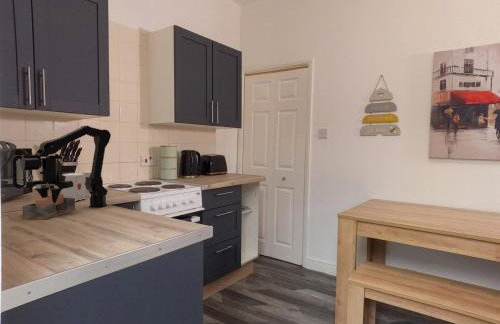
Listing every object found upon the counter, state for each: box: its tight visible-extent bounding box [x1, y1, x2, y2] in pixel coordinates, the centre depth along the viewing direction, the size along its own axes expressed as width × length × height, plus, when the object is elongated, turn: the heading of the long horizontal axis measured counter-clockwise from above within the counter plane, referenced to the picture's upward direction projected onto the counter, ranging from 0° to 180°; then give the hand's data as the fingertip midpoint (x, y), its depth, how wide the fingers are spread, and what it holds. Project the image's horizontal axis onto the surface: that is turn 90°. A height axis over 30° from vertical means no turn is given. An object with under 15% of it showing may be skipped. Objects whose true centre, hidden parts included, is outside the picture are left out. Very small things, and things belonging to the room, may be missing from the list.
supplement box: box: [60, 173, 86, 200], centre depth 172 cm, size 9×9×15 cm
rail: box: [34, 193, 64, 206], centre depth 142 cm, size 14×4×4 cm, turn 178°
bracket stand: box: [21, 198, 76, 221], centre depth 142 cm, size 10×20×6 cm, turn 178°
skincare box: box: [81, 170, 91, 196], centre depth 187 cm, size 8×6×15 cm
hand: (50, 202), depth 142 cm, fingers closed on rail, 3 cm apart
